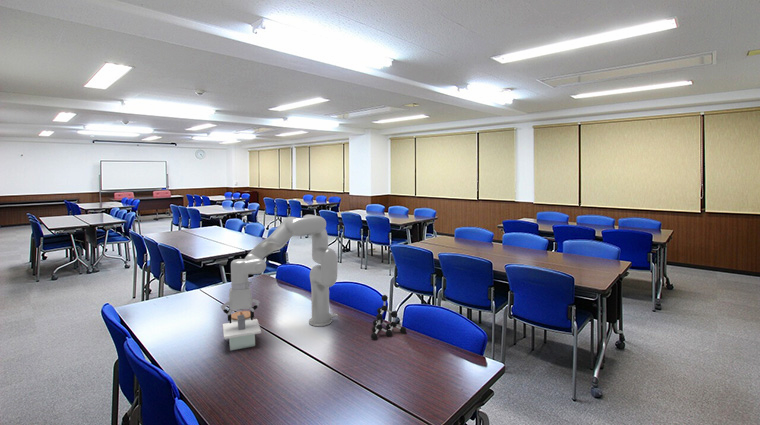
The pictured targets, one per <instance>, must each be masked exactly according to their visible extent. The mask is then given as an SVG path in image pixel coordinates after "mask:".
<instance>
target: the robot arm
mask: <svg viewBox="0 0 760 425" xmlns="http://www.w3.org/2000/svg"><path fill="white" fill-rule="evenodd" d="M326 227H327V221H326V219H325V218H324V217H322V216H320V215H315V214H305V215H303V216H302V217H296V216H288V217H286V218H285V219H283V221H282V222H281V223H280V224H279V225H278V226H277V227H276V228H275V229H274V231H273V232H272V233H271V234H270V235H269V236H268V237H267V238H265V239H264V240H262V241H261V242H259V243H258V244H256V245H255V246H254V247H253V248H252V249H251V250H250V252H248V254H247V255H246V256H245V257H244V258H237V259H233V260H232V261H231V262H230V281H231V282H230V284H231V287H230V289H229V292H228V301H226V302H225V303H222V305H221V306H220V309H221V310H222V311H223V313H225V314H226V315H227V321H228V323H231V315H232V312H233V311H234V312H236V311H244V310H248V309H249V311H250V318H251V320H253V318H254V319H255V311H256V310H257V308H258V307H259V305H260V300H257V299H254V298H252V290H251V287H250V286H252V285H253V284H252V281H249V275H259V274H263V272H265V270H266V269H267V263H266V261H265V260H264V258H265V257H266V256H267V255H269V254H270V253H273V252H276V251H279V250H281V249H282V248H284V247H285V245H286V244H287V243H288V242H289V241H290V240H291V238H292V237H293V236H294V235H295V236H306V235H310V236H311V257H312V261H313V262H314V263H317V265H314V266H312V268H311V269H310V271H309V280H310V281H309V282H310V289H311V290H310V291H311V318H309V320H308V324H309V325H310V326H312V327H325V326H329V325H331V324H332V323H333V319H334V318H338V317H339V315H338V313H335V312H331V313H330V288H331V287H333V286H334V285H335V284H336V282H337V280H338V255H337V253H336V251H335V250H334V249H332V248H330V247H329V238H328V237H329V235H328V232H327V229H326ZM253 303H254V305H253ZM226 307H228V309H227V308H226ZM331 322H332V323H331ZM330 323H331V324H330Z"/></svg>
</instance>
